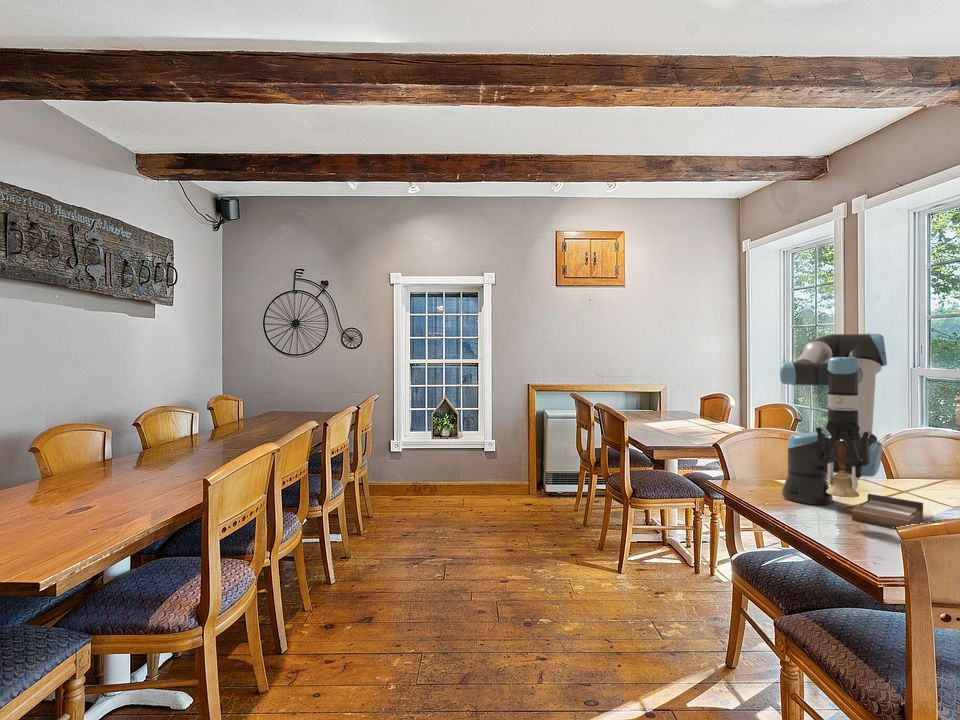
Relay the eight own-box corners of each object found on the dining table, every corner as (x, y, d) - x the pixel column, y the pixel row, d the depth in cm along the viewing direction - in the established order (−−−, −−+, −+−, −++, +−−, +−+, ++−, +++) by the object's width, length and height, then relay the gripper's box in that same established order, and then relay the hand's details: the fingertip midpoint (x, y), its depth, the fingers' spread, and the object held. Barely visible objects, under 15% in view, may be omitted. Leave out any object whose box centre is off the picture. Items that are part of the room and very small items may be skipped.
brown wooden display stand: (909, 531, 154) (909, 514, 154) (851, 520, 164) (852, 503, 164) (922, 518, 165) (923, 502, 165) (868, 508, 176) (868, 493, 176)
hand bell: (819, 490, 163) (819, 438, 163) (845, 489, 164) (845, 438, 164) (839, 498, 155) (839, 443, 155) (866, 497, 156) (866, 443, 155)
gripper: (803, 407, 163) (803, 482, 164) (877, 412, 149) (876, 494, 150) (812, 405, 168) (811, 478, 169) (884, 410, 154) (883, 489, 155)
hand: (842, 485), depth 160 cm, fingers closed on hand bell, 5 cm apart
